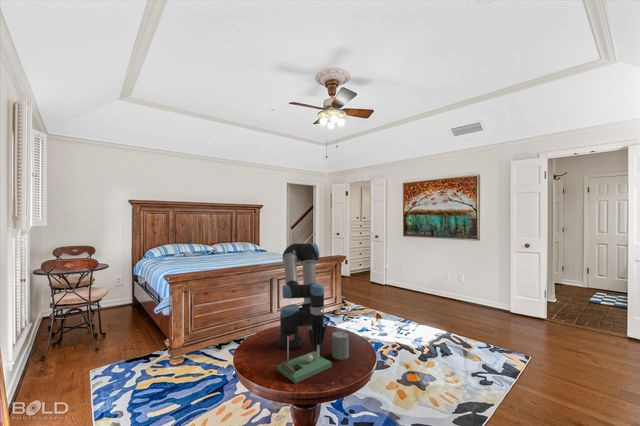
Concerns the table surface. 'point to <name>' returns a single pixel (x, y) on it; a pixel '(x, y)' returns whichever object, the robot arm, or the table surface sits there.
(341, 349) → the grey can
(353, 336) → the table surface
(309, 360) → the ball
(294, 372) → the green
